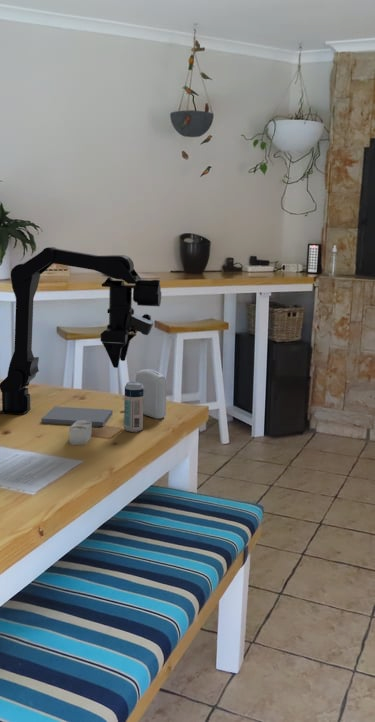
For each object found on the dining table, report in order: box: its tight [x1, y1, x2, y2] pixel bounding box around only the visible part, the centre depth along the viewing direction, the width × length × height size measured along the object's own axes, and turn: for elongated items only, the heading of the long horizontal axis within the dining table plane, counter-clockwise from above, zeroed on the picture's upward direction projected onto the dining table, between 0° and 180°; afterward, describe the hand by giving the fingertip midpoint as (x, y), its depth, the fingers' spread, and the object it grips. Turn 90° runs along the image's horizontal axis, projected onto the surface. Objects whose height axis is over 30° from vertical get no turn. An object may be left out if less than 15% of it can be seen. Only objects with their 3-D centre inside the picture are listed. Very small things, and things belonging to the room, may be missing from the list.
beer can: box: [123, 381, 144, 433], centre depth 173 cm, size 5×5×12 cm
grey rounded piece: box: [68, 420, 93, 446], centre depth 166 cm, size 4×11×4 cm, turn 174°
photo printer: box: [135, 368, 167, 420], centre depth 187 cm, size 10×4×12 cm, turn 39°
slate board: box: [41, 406, 114, 427], centre depth 182 cm, size 16×12×1 cm
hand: (119, 364), depth 181 cm, fingers open, 9 cm apart
